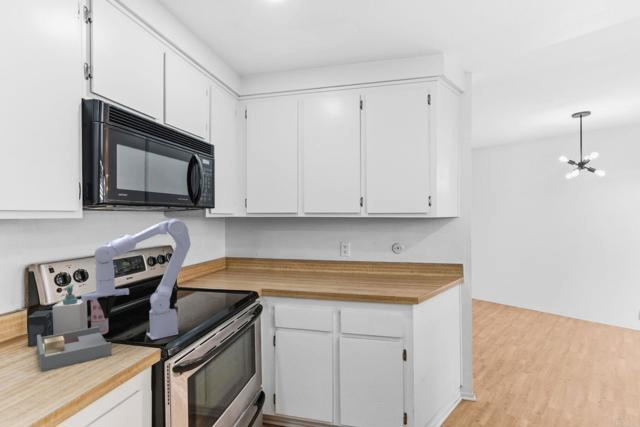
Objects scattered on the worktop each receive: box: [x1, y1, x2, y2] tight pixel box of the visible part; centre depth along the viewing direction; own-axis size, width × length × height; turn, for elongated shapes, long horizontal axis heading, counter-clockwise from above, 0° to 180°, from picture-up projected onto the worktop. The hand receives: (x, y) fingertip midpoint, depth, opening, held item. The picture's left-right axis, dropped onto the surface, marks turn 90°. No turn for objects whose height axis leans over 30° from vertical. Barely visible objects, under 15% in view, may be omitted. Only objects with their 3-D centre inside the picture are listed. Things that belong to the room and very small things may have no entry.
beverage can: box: [90, 296, 109, 336], centre depth 145 cm, size 6×6×15 cm
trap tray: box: [36, 326, 112, 372], centre depth 126 cm, size 18×22×5 cm
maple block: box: [44, 336, 65, 354], centre depth 122 cm, size 5×5×4 cm
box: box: [27, 309, 53, 348], centre depth 136 cm, size 8×6×11 cm
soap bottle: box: [52, 284, 88, 335], centre depth 141 cm, size 9×9×19 cm
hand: (106, 317), depth 133 cm, fingers closed
